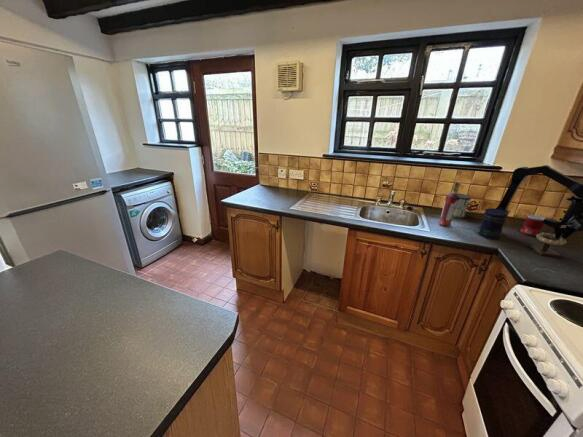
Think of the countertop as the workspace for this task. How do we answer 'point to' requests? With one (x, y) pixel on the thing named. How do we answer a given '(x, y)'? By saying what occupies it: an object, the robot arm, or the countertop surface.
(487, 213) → the storage jar
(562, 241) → the tape
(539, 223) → the canned food
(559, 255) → the tape post
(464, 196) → the coffee can
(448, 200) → the liquor
